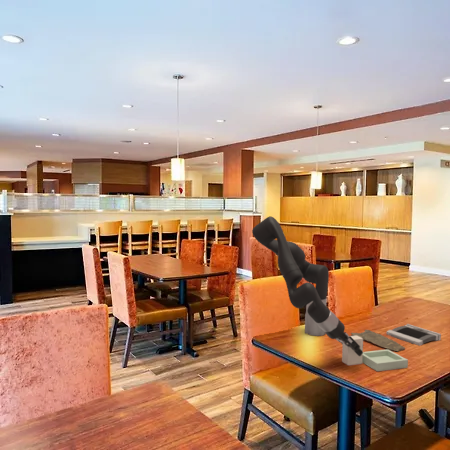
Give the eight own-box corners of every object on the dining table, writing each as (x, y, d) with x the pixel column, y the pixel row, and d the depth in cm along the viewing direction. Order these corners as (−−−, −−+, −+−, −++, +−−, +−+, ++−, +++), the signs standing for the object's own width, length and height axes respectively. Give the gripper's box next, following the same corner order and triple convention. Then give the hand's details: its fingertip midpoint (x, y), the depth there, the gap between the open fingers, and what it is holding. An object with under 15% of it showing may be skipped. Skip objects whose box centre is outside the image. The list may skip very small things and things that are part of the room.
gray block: (342, 361, 157) (342, 336, 157) (356, 359, 159) (356, 335, 159) (347, 365, 154) (348, 340, 153) (362, 363, 155) (363, 338, 155)
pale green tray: (358, 359, 159) (358, 352, 159) (387, 356, 163) (387, 349, 163) (376, 371, 148) (377, 363, 148) (407, 367, 152) (407, 359, 152)
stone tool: (349, 336, 189) (392, 354, 167) (349, 330, 189) (393, 347, 167) (366, 333, 194) (410, 350, 172) (366, 327, 194) (411, 344, 172)
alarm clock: (441, 333, 184) (419, 336, 176) (440, 343, 184) (418, 346, 176) (408, 323, 199) (386, 325, 191) (407, 333, 199) (385, 335, 191)
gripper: (314, 325, 159) (338, 350, 163) (333, 337, 145) (359, 364, 149) (326, 311, 160) (349, 337, 164) (346, 321, 146) (372, 349, 150)
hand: (354, 350), depth 156 cm, fingers open, 8 cm apart
